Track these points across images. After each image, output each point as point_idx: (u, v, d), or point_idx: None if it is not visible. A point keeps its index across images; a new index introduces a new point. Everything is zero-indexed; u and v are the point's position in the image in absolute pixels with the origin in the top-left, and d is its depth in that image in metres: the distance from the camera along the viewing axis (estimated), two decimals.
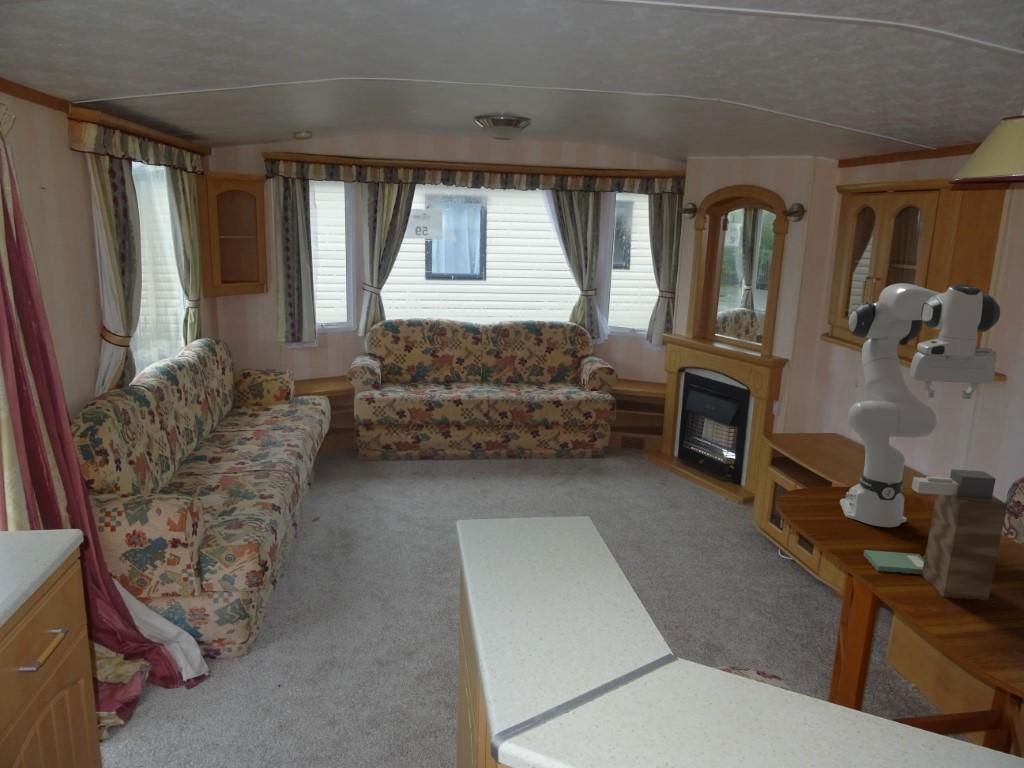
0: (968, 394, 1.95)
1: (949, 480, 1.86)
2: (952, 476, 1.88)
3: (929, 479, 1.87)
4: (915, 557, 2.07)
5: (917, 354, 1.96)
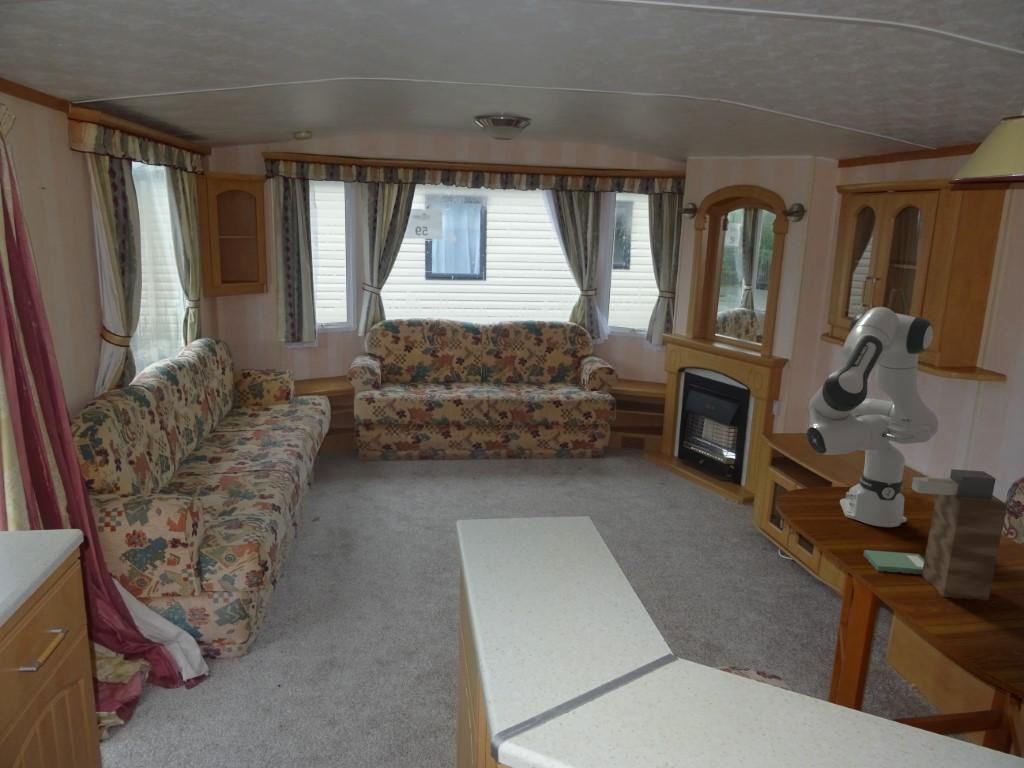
0: None
1: (949, 480, 1.86)
2: (952, 476, 1.88)
3: (929, 479, 1.87)
4: (915, 557, 2.07)
5: None
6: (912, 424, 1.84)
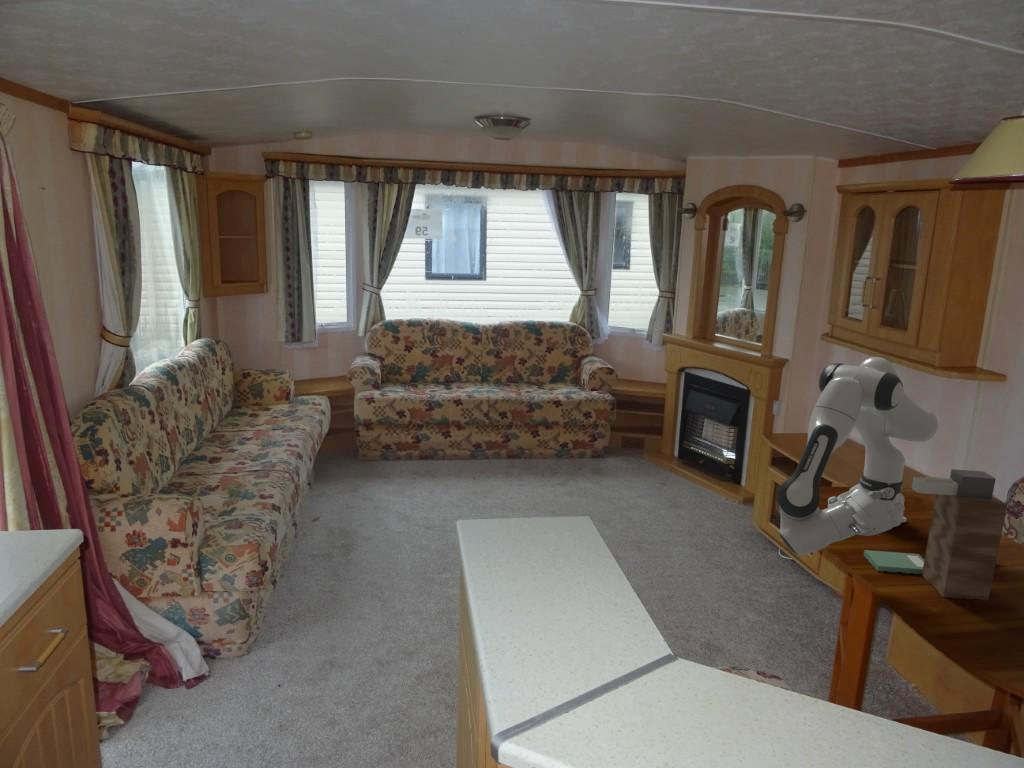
0: None
1: (949, 480, 1.86)
2: (952, 476, 1.88)
3: (929, 479, 1.87)
4: (915, 557, 2.07)
5: None
6: (877, 509, 1.85)
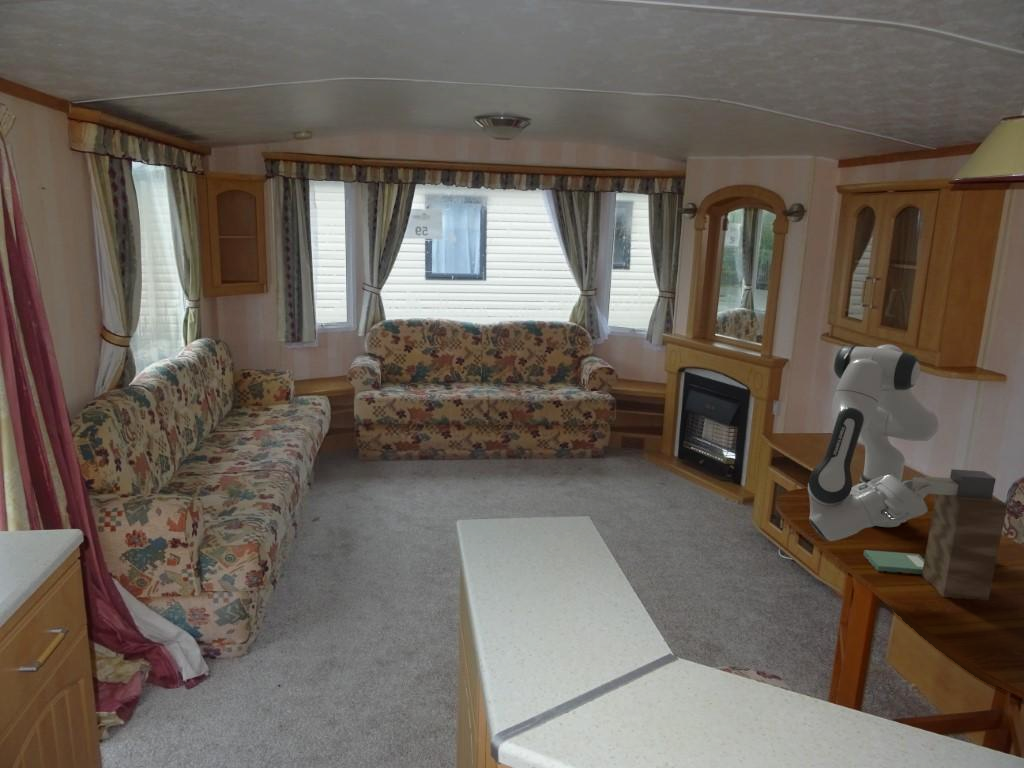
0: None
1: (949, 480, 1.86)
2: (952, 476, 1.88)
3: (929, 479, 1.87)
4: (915, 557, 2.07)
5: None
6: (909, 495, 1.83)
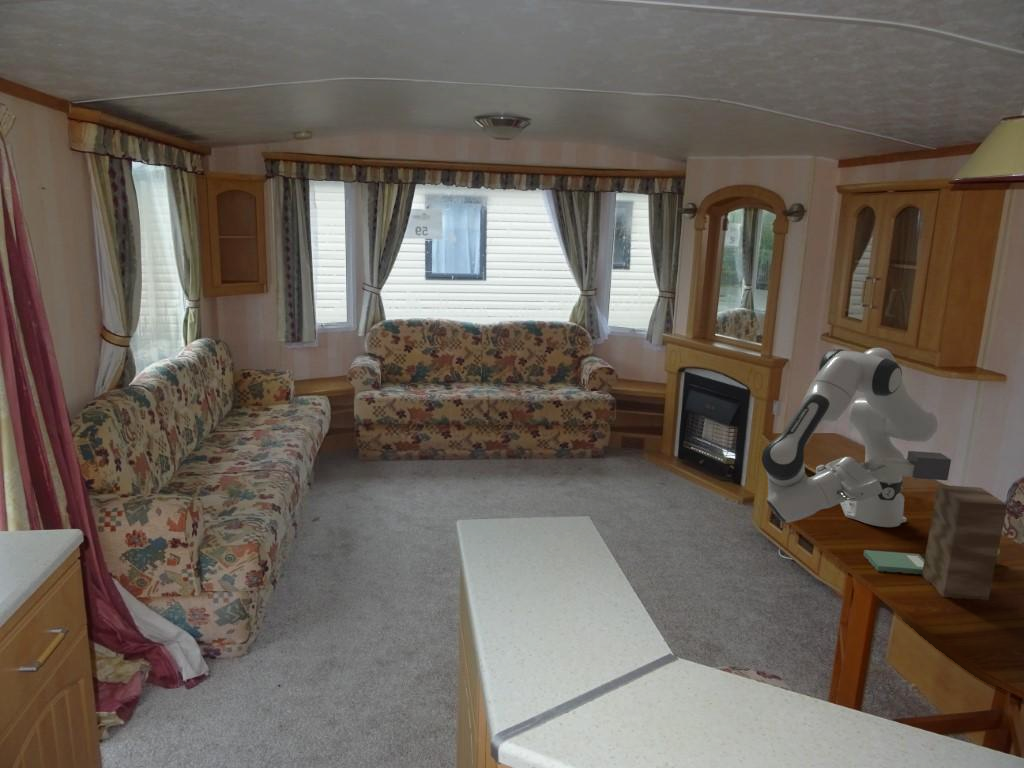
0: None
1: (905, 461, 1.86)
2: (909, 457, 1.88)
3: (885, 460, 1.86)
4: (915, 557, 2.07)
5: None
6: (865, 475, 1.83)
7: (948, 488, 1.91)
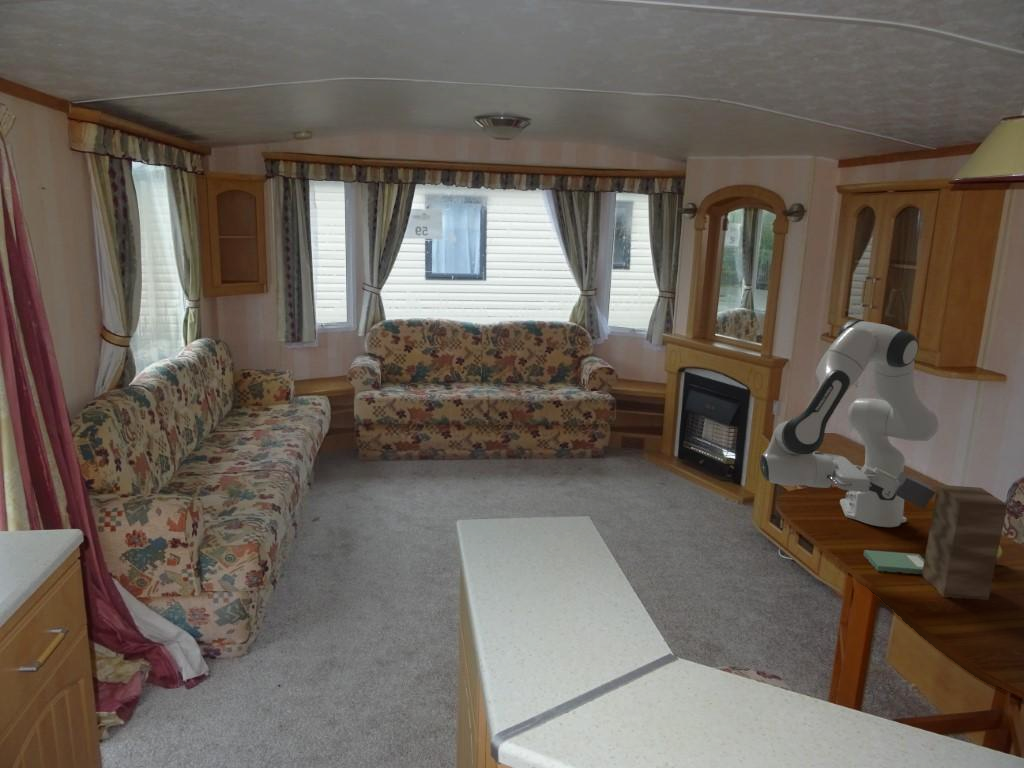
0: None
1: (894, 478, 1.98)
2: (899, 477, 2.00)
3: (877, 470, 1.99)
4: (915, 557, 2.07)
5: None
6: (858, 473, 1.95)
7: (948, 488, 1.91)
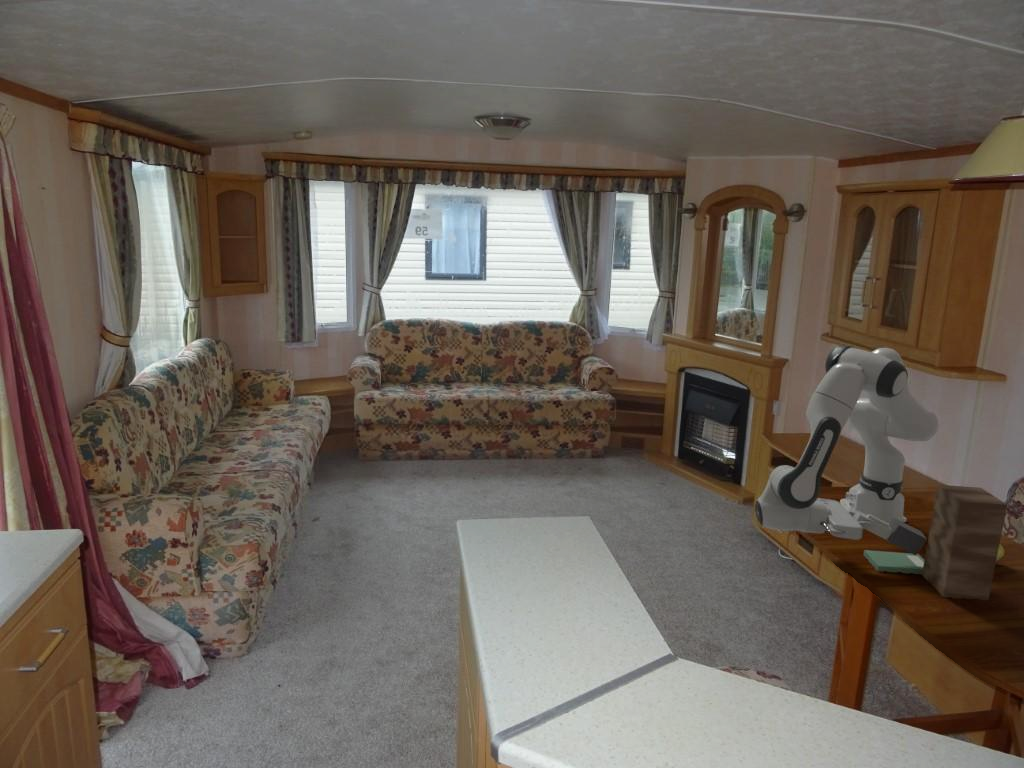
0: None
1: (886, 525, 2.01)
2: (891, 523, 2.03)
3: (869, 516, 2.02)
4: (915, 557, 2.07)
5: None
6: (851, 520, 1.98)
7: (948, 488, 1.91)
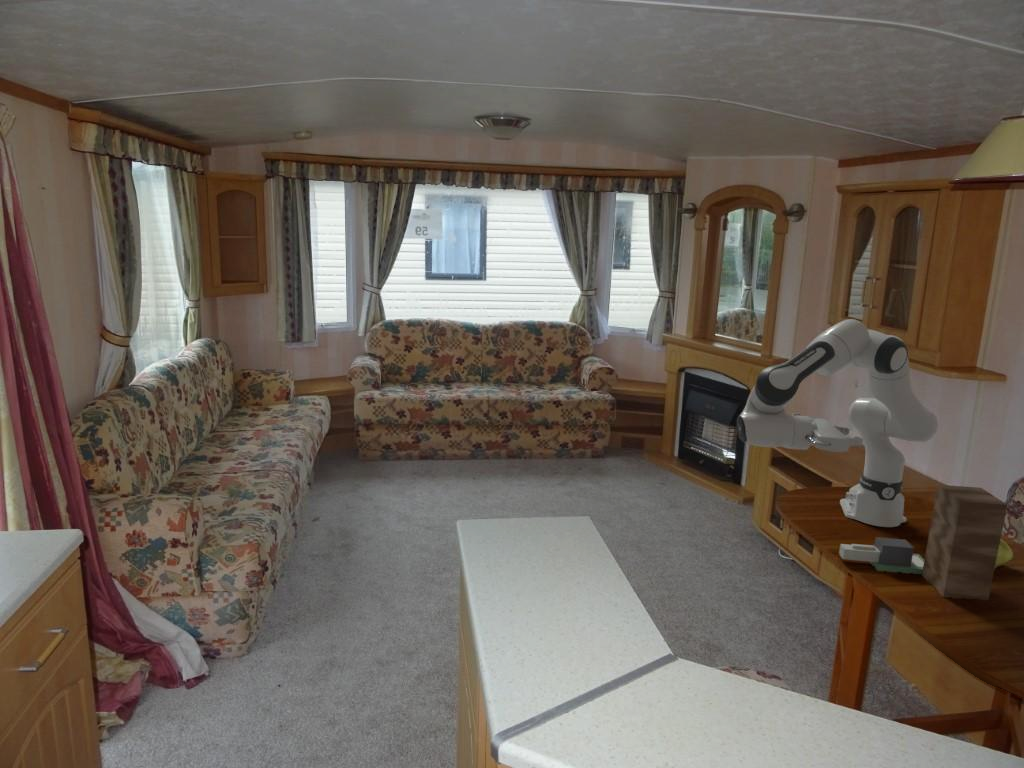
0: None
1: (872, 548, 2.03)
2: (876, 543, 2.05)
3: (854, 546, 2.03)
4: (915, 557, 2.07)
5: None
6: (838, 433, 1.87)
7: (948, 488, 1.91)
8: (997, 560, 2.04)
